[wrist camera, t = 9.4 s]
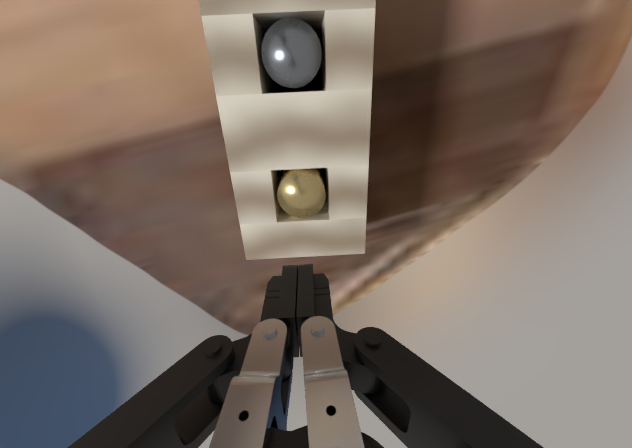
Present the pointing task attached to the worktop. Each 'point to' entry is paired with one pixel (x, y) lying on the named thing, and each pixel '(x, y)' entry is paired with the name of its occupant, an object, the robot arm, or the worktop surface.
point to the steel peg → (291, 53)
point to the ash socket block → (295, 122)
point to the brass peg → (301, 192)
